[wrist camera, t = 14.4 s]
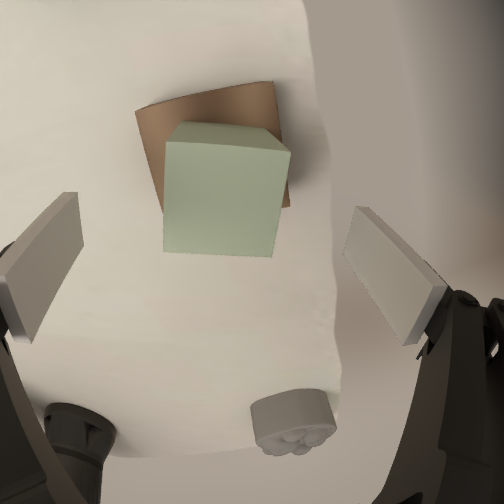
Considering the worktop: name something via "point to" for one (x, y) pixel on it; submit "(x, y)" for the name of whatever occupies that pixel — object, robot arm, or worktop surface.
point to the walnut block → (206, 120)
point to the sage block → (223, 189)
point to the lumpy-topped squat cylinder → (292, 421)
